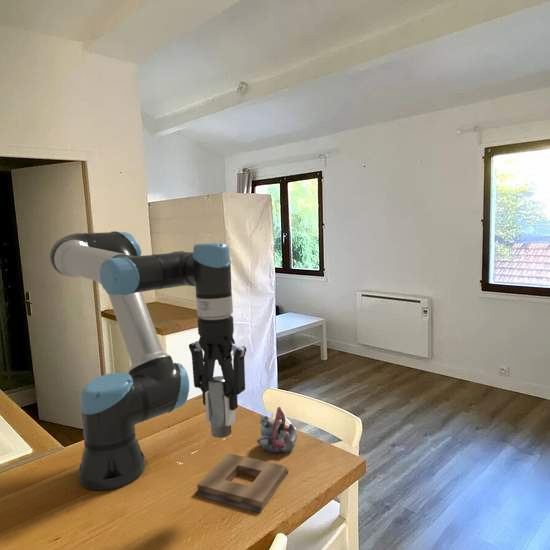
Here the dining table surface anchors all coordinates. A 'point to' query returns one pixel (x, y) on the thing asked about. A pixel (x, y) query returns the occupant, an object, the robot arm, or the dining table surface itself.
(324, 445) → the dining table surface
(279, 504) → the dining table surface
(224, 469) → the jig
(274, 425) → the red and grey figurine
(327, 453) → the dining table surface
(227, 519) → the dining table surface
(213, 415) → the steel cylinder rod
